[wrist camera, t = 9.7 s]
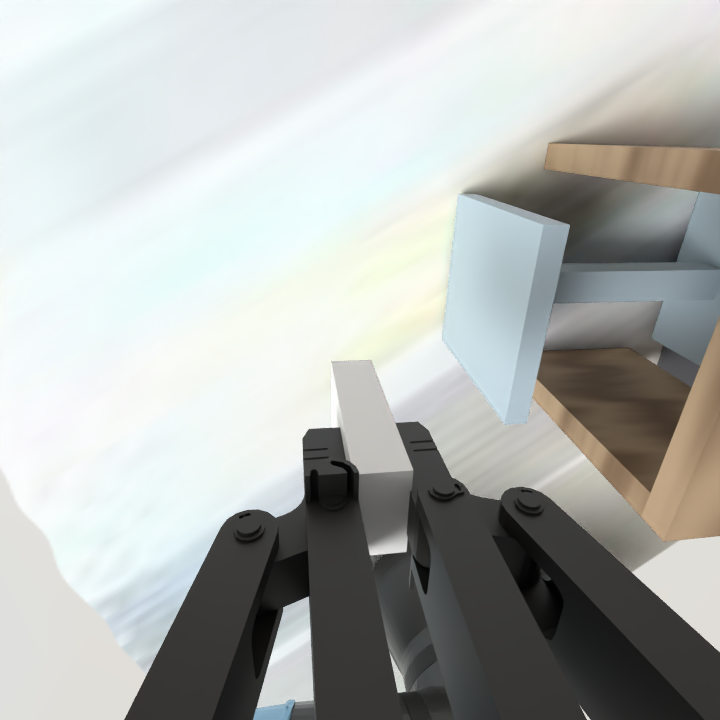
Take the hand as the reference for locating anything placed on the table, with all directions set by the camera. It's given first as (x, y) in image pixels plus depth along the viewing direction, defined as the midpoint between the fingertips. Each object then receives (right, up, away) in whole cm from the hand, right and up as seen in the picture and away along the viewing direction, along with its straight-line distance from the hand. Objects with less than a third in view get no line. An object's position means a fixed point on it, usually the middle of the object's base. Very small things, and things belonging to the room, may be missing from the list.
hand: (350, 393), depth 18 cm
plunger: (+15, +8, +15) cm, 23 cm away
